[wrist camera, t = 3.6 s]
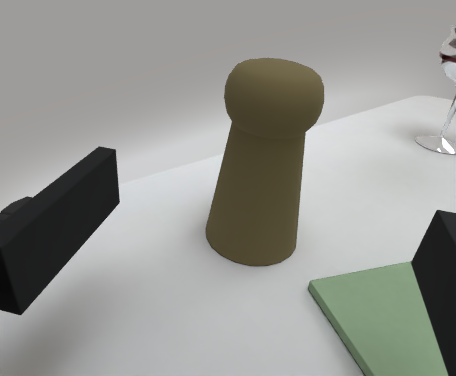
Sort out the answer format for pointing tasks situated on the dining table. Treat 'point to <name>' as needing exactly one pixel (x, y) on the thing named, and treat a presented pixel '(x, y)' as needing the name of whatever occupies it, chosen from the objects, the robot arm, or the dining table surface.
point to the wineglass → (452, 65)
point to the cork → (263, 160)
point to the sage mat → (382, 320)
